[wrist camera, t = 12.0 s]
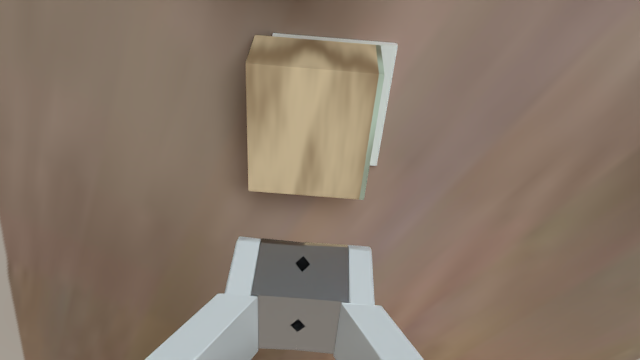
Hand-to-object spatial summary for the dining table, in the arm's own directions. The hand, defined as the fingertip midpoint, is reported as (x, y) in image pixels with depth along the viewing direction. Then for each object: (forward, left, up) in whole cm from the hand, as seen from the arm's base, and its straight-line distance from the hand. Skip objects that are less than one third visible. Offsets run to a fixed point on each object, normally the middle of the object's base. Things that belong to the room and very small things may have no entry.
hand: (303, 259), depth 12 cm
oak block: (+5, +14, -28) cm, 32 cm away
